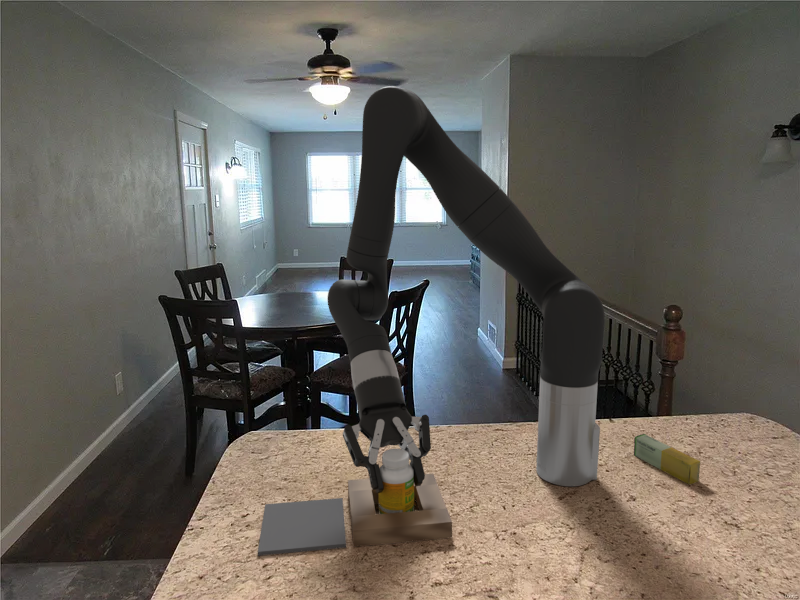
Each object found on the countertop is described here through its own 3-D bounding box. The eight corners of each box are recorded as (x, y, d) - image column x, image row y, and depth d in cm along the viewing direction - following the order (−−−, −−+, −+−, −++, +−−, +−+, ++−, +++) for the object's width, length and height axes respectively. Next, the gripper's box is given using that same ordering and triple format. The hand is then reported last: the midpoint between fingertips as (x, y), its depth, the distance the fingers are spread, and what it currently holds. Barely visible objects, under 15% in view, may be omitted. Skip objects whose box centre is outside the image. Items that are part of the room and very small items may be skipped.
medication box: (632, 456, 108) (633, 435, 107) (642, 452, 109) (644, 432, 109) (689, 486, 98) (690, 464, 97) (700, 482, 99) (702, 460, 98)
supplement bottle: (410, 525, 87) (409, 464, 85) (375, 521, 88) (373, 461, 86) (417, 504, 92) (416, 447, 90) (383, 501, 93) (382, 444, 91)
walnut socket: (433, 487, 98) (433, 473, 97) (452, 537, 84) (452, 521, 84) (348, 494, 96) (347, 480, 95) (353, 546, 82) (353, 530, 82)
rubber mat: (342, 501, 94) (342, 497, 94) (346, 547, 82) (346, 543, 82) (265, 507, 92) (265, 504, 92) (257, 555, 81) (257, 551, 80)
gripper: (335, 379, 91) (356, 489, 82) (424, 369, 95) (452, 472, 86) (330, 399, 97) (348, 503, 88) (413, 389, 101) (438, 487, 92)
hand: (399, 487), depth 87 cm, fingers closed on supplement bottle, 5 cm apart
